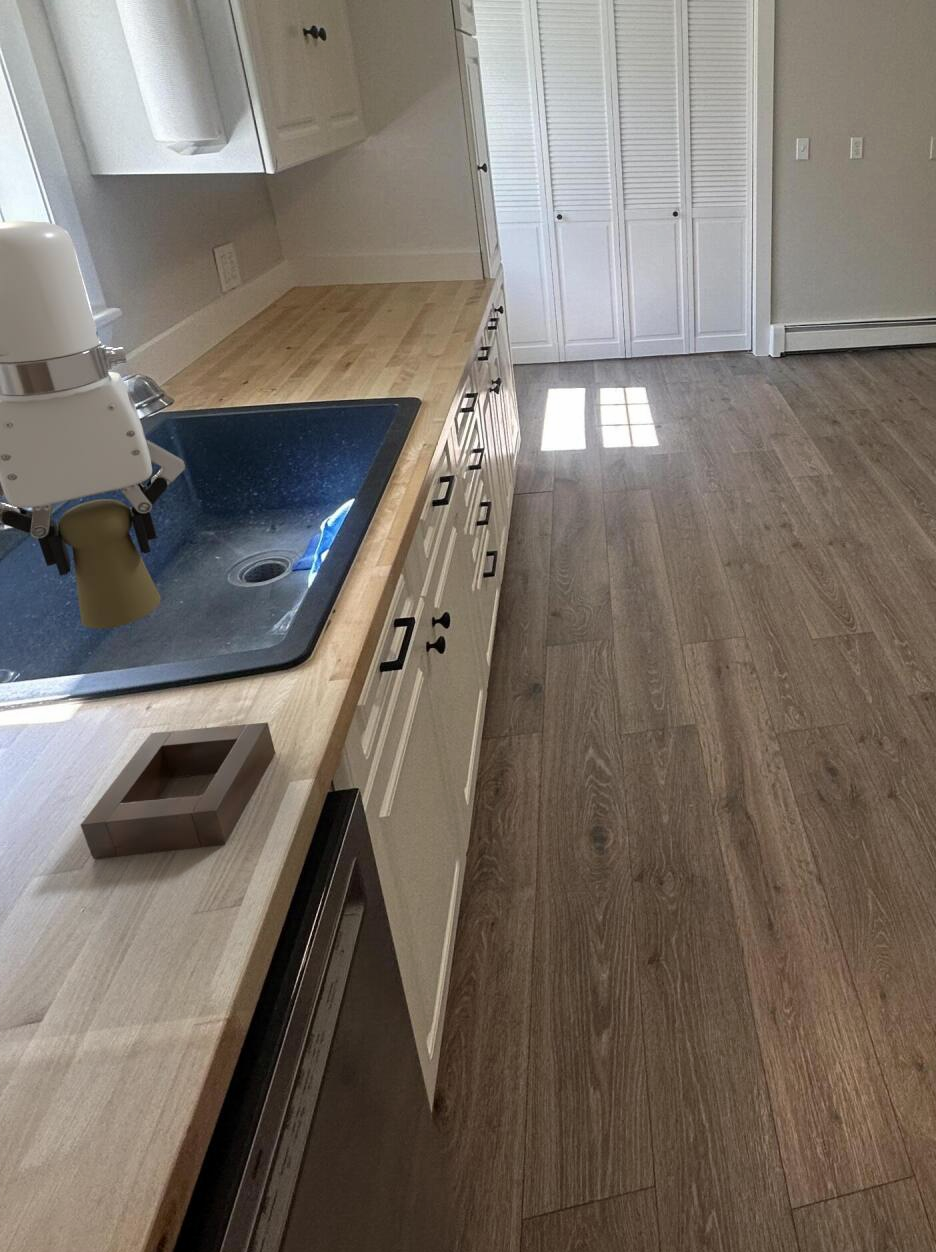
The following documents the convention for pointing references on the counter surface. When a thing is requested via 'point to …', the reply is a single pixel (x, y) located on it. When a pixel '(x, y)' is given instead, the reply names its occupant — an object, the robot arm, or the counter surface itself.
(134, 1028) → the counter surface
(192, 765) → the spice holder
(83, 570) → the cork
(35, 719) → the counter surface
